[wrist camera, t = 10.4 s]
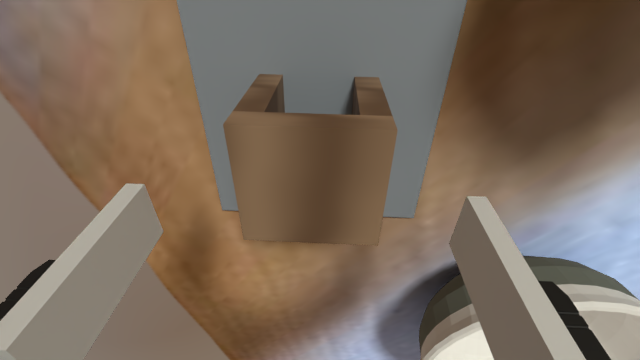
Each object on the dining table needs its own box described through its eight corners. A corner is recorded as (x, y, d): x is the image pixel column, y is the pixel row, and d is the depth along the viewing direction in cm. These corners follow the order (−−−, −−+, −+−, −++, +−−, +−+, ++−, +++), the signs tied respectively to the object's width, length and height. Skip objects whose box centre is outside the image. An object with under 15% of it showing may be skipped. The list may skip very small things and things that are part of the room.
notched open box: (268, 167, 24) (243, 239, 17) (259, 73, 20) (223, 124, 13) (367, 171, 23) (378, 245, 17) (378, 77, 19) (397, 130, 13)
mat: (176, -13, 17) (174, -13, 17) (466, -8, 17) (468, -7, 17) (223, 206, 27) (222, 209, 26) (412, 214, 26) (413, 217, 26)
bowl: (426, 348, 38) (445, 430, 31) (376, 251, 29) (387, 339, 22) (602, 317, 33) (670, 409, 26) (610, 187, 24) (719, 276, 17)
